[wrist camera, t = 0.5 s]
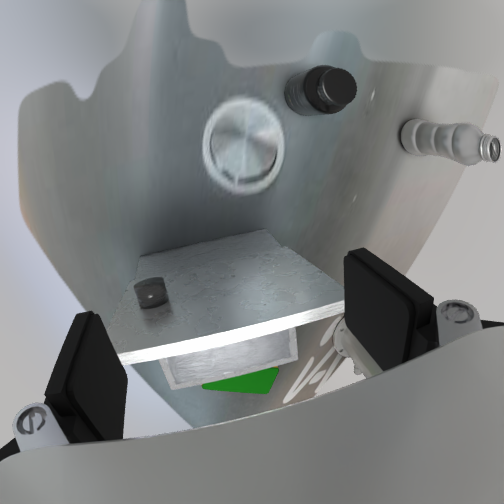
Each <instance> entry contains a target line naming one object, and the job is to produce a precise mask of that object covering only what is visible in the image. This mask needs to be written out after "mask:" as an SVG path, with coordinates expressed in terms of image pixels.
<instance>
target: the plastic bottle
mask: <svg viewBox="0 0 504 504" xmlns="http://www.w3.org/2000/svg"><path fill="white" fill-rule="evenodd" d="M401 141H402V144H403V146H404V148H405V149H406V150H407V151H408V152H409V153H411V154H413V155H416V156H426V155H433V156H441V157H445V158H448V159H451V160H454V161H456V162H458V163H461V164H463V165H466V166H470V165H475V164H477V163H478V162H480V161H482V160H484V161H487V162H493V163H494V162H495V163H496V162H497V161H498V160H499V158H500V156H501V142H500V140H499V139H498V138H497V137H496V136H491V135H489V134H484V133H483V132H482V131H481V130H480V129H479V128H478V127H477V126H476V125H474V124H472V123H455V124H438V123H432V122H428V121H426V120H422V119H414V120H410V121H408V122H407V123H406V124H405V125H404V127H403V128H402V131H401Z"/></svg>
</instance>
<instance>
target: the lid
mask: <svg viewBox="0 0 504 504" xmlns="http://www.w3.org/2000/svg"><path fill="white" fill-rule="evenodd" d="M343 312H344V287H343V286H342V285H340V284H339V283H338V282H336V281H335V280H334V279H332V278H331V277H329V276H328V275H327V274H325V273H324V272H322V271H321V270H320V269H318V268H317V267H315V266H314V265H313V264H311V263H310V262H308V261H307V260H305V259H304V258H303V257H301V256H300V255H298V254H297V253H296V252H294V251H293V250H291V249H290V248H288V247H287V246H286V247H282V248H277V249H273V250H269V251H264V252H260V253H255V254H251V255H246V256H242V257H237V258H233V259H229V260H224V261H220V262H215V263H211V264H206V265H202V266H197V267H193V268H189V269H184V270H180V271H175V272H171V273H166V274H162V275H157V276H153V277H148V278H144V279H139V280H135V281H130V283H129V285H128V287H127V289H126V291H125V293H124V295H123V297H122V299H121V301H120V303H119V305H118V307H117V309H116V311H115V313H114V316H113V318H112V320H111V322H110V324H109V326H108V329H107V334H108V336H109V338H110V340H111V343H112V345H113V347H114V349H115V351H116V353H117V355H118V357H119V359H120V361H121V363H122V365H128V364H133V363H139V362H145V361H150V360H155V359H161V358H166V357H171V356H176V355H181V354H185V353H190V352H195V351H199V350H204V349H208V348H213V347H217V346H222V345H226V344H230V343H234V342H238V341H243V340H247V339H251V338H255V337H258V336H262V335H266V334H270V333H274V332H278V331H281V330H285V329H289V328H292V327H296V326H299V325H303V324H306V323H310V322H313V321H317V320H320V319H323V318H327V317H330V316H333V315H337V314H340V313H343Z"/></svg>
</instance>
